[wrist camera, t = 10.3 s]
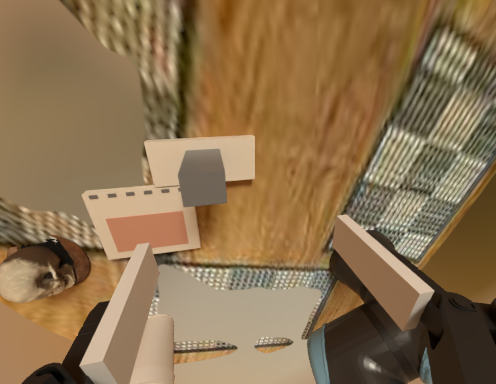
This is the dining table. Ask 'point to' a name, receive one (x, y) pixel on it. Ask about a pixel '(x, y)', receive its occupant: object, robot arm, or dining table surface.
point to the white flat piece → (142, 219)
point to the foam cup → (155, 352)
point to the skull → (42, 270)
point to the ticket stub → (201, 165)
